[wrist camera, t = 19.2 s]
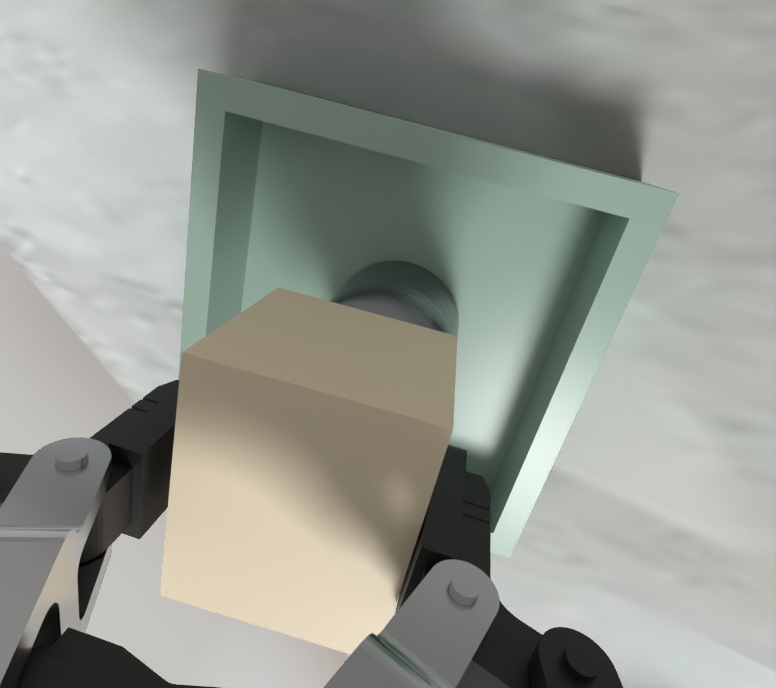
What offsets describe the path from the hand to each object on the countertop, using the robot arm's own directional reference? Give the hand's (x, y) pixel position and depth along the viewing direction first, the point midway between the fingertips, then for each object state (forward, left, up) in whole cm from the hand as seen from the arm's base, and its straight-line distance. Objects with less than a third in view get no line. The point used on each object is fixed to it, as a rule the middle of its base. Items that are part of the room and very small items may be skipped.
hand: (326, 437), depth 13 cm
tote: (0, 0, -10) cm, 10 cm away
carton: (0, 0, -2) cm, 2 cm away
